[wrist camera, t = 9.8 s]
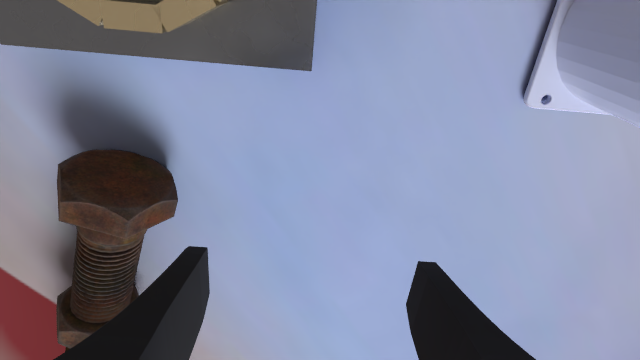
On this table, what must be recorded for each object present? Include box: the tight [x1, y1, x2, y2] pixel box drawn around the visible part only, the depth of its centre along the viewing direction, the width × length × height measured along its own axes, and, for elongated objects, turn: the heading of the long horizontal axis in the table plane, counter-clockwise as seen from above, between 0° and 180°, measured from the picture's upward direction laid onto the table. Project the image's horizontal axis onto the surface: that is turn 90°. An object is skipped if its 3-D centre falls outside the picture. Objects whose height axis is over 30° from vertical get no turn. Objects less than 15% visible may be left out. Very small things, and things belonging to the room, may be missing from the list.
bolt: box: [57, 150, 178, 352], centre depth 23 cm, size 6×5×15 cm
